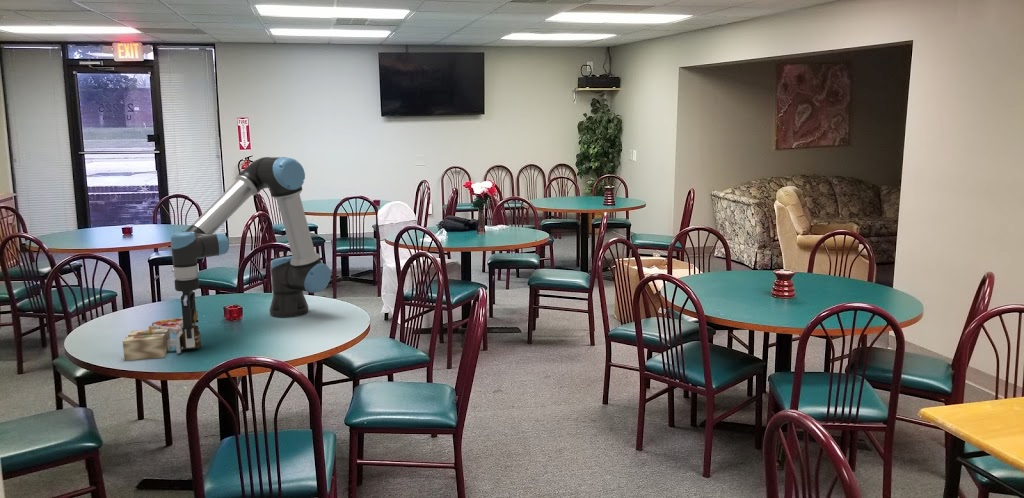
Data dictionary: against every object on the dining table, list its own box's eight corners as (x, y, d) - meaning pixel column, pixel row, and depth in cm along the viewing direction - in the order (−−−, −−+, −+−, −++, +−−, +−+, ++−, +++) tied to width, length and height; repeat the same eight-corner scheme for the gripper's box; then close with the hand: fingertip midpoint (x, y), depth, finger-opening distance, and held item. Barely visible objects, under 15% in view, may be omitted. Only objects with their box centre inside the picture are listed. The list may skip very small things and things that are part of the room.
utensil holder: (178, 348, 262) (175, 314, 260) (192, 343, 268) (189, 309, 266) (191, 350, 260) (188, 315, 258) (205, 345, 266) (202, 311, 264)
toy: (186, 313, 303) (199, 324, 286) (187, 321, 303) (200, 333, 287) (145, 319, 294) (156, 331, 278) (146, 328, 295) (157, 340, 279)
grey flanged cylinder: (184, 345, 267) (182, 320, 266) (180, 353, 259) (178, 327, 257) (140, 349, 264) (138, 324, 263) (134, 356, 255) (132, 330, 254)
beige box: (170, 346, 268) (169, 327, 267) (163, 357, 256) (162, 337, 255) (133, 349, 265) (131, 330, 264) (124, 360, 253) (122, 340, 252)
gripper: (179, 273, 268) (184, 338, 272) (169, 284, 250) (175, 353, 254) (202, 272, 270) (207, 336, 274) (194, 282, 252) (200, 351, 256)
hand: (192, 344), depth 264 cm, fingers closed on utensil holder, 6 cm apart
